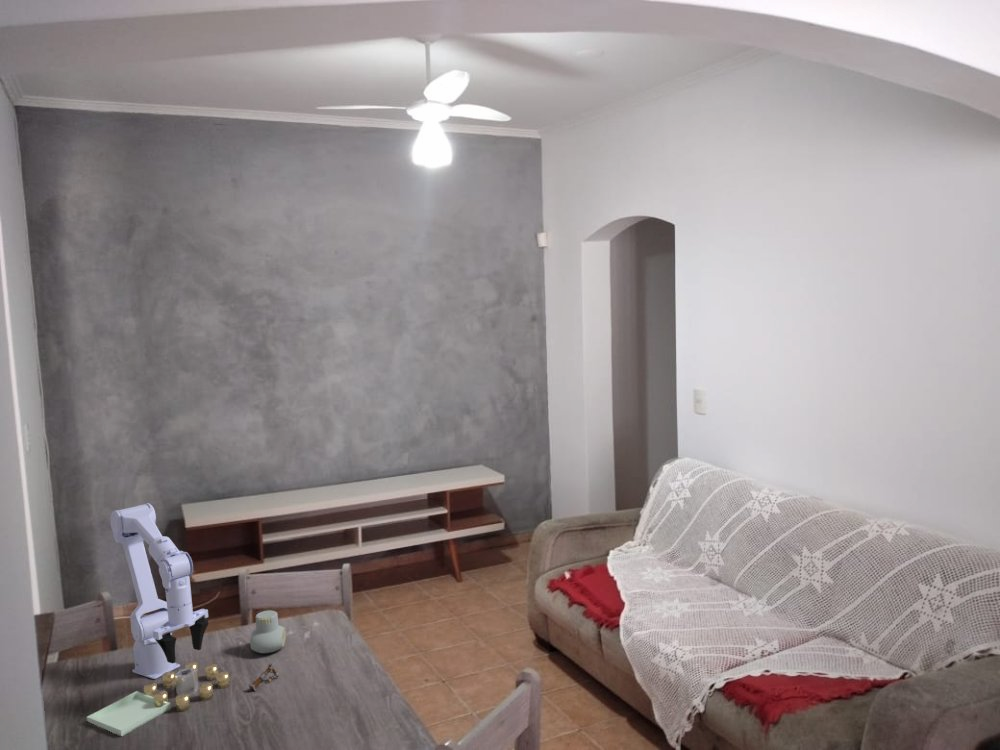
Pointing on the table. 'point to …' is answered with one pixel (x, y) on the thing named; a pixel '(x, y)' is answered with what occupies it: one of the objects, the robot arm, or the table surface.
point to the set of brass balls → (183, 699)
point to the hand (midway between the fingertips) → (184, 655)
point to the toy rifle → (263, 675)
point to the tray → (128, 713)
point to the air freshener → (267, 633)
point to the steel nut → (187, 681)
